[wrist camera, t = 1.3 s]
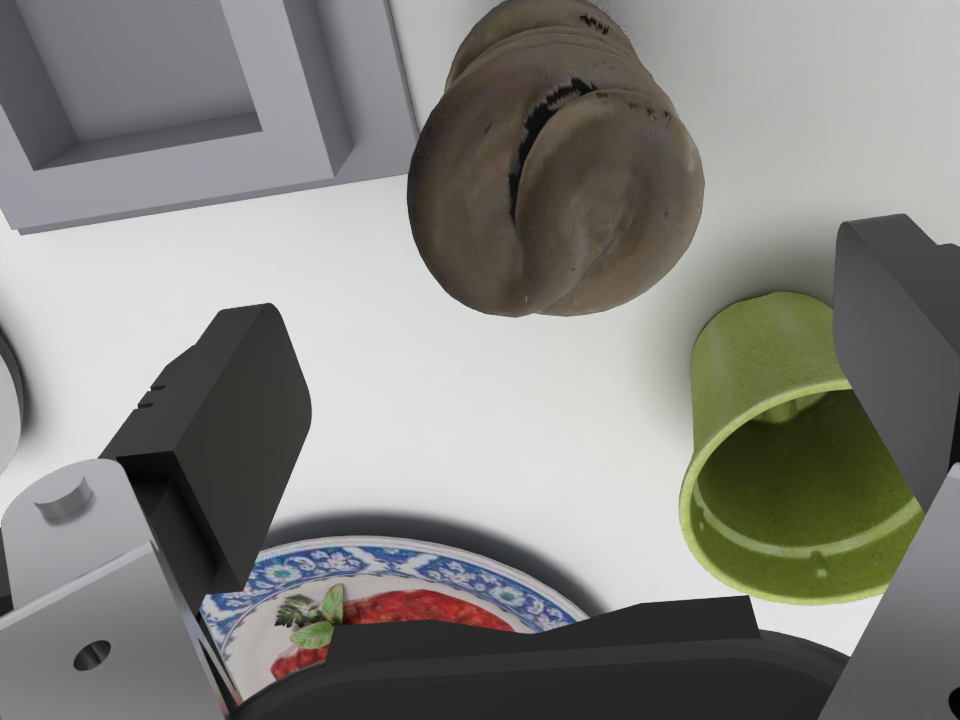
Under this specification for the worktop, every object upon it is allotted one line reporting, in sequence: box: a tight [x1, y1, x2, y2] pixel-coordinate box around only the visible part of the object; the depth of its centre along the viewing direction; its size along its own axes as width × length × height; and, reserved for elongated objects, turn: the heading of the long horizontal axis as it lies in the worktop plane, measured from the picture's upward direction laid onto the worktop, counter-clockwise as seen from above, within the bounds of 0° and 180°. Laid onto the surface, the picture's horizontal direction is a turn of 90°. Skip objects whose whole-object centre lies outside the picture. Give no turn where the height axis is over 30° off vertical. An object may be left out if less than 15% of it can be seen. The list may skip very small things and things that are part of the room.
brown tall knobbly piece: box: [407, 0, 705, 318], centre depth 20 cm, size 6×6×15 cm
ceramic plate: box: [200, 536, 590, 701], centre depth 44 cm, size 26×26×3 cm
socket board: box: [0, 0, 419, 235], centre depth 25 cm, size 16×14×4 cm
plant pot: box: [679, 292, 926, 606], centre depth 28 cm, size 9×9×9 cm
